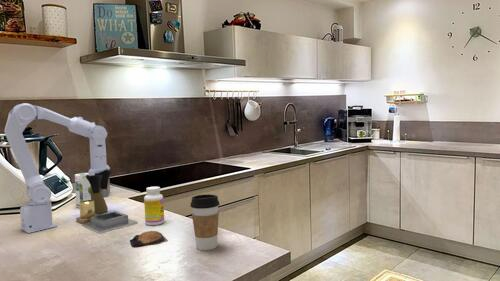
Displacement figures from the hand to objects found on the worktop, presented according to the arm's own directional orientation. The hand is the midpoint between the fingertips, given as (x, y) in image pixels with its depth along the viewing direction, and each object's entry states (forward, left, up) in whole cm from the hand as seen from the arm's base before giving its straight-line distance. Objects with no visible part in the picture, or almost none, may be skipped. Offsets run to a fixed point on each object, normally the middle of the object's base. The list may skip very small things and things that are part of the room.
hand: (100, 191), depth 144 cm
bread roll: (-5, -41, -11) cm, 43 cm away
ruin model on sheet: (+19, +36, -11) cm, 42 cm away
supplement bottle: (+7, -26, -10) cm, 29 cm away
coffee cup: (+3, -59, -10) cm, 60 cm away
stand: (-7, -3, -10) cm, 12 cm away
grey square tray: (-4, -14, -10) cm, 17 cm away
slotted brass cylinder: (-7, -3, -8) cm, 11 cm away
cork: (+2, +6, -10) cm, 11 cm away
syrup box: (+2, +20, -10) cm, 23 cm away
